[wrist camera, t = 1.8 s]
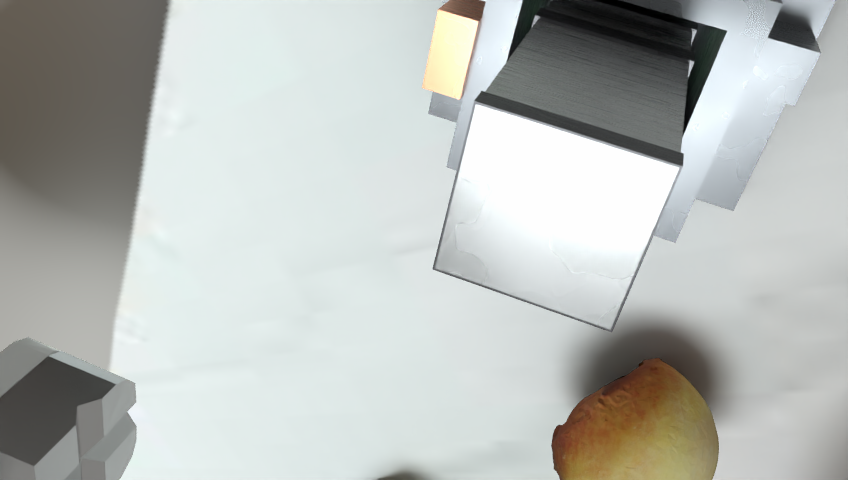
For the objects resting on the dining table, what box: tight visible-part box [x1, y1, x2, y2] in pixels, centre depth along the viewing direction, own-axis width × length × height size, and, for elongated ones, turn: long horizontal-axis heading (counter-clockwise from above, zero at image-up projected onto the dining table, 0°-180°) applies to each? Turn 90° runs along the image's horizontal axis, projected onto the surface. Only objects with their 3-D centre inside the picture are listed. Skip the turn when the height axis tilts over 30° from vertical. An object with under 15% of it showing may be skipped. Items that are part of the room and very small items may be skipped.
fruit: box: [551, 358, 719, 480], centre depth 38 cm, size 8×8×8 cm
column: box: [433, 0, 698, 332], centre depth 23 cm, size 4×4×18 cm
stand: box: [422, 0, 836, 242], centre depth 27 cm, size 14×14×12 cm
